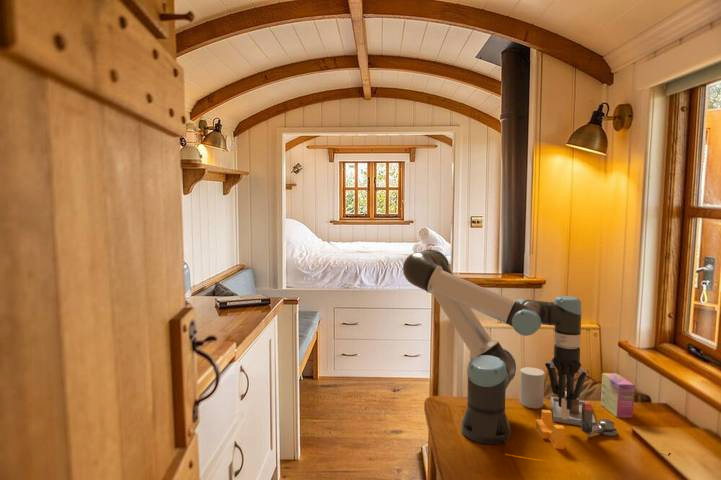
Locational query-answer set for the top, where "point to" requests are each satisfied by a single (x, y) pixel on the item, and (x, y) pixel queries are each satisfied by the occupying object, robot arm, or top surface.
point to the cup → (531, 387)
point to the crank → (587, 422)
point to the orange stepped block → (550, 430)
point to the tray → (572, 417)
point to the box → (617, 395)
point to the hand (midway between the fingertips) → (565, 417)
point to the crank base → (609, 433)
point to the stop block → (574, 406)
